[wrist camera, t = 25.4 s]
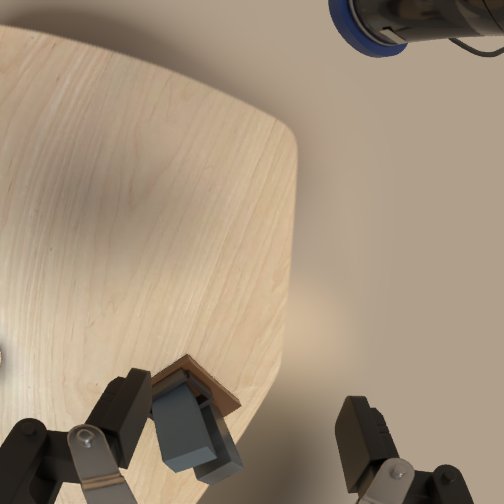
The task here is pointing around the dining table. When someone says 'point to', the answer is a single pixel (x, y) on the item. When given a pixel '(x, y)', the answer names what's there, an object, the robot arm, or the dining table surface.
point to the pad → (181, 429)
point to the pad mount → (205, 415)
